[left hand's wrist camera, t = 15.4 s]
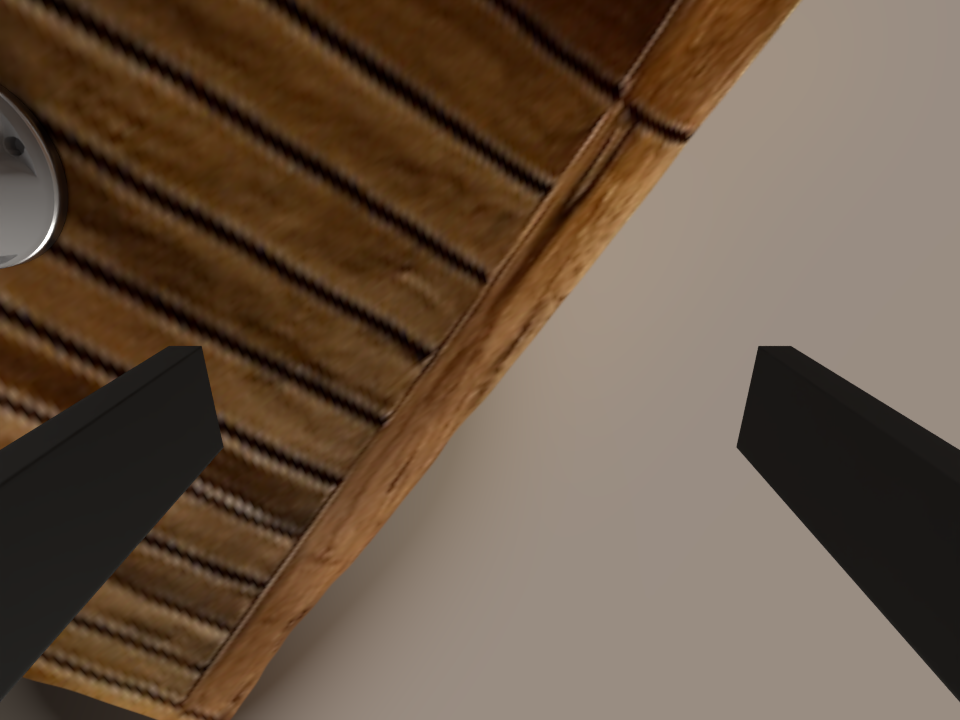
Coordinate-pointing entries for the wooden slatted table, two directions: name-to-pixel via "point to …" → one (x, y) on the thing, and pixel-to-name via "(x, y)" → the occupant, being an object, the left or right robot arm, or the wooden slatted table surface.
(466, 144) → the wooden slatted table surface
